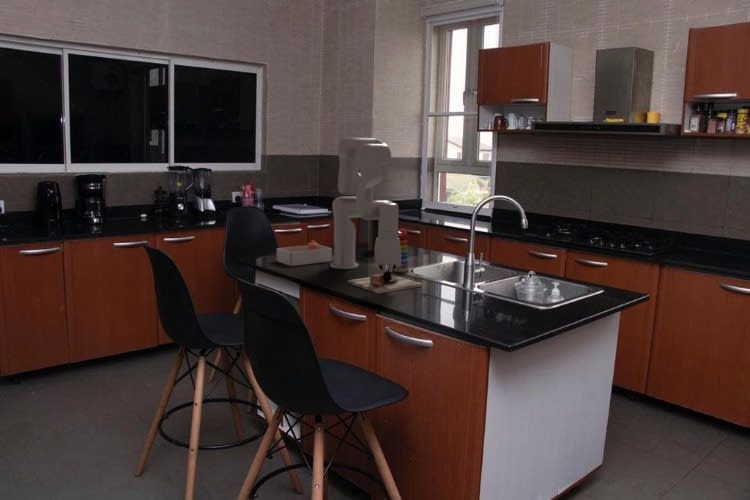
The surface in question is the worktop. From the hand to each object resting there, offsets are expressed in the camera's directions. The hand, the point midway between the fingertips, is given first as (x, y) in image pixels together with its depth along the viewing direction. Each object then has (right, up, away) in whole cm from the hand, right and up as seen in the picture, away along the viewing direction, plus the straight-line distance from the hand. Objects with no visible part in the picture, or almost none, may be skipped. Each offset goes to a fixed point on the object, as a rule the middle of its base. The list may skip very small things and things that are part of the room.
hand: (387, 281), depth 256 cm
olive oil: (-1, +12, +84) cm, 85 cm away
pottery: (-38, +6, +51) cm, 64 cm away
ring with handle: (-2, -1, +6) cm, 6 cm away
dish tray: (-38, +7, +52) cm, 65 cm away
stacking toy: (+6, +3, +36) cm, 36 cm away
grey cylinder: (-3, -1, +6) cm, 7 cm away
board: (-1, -2, +8) cm, 9 cm away
